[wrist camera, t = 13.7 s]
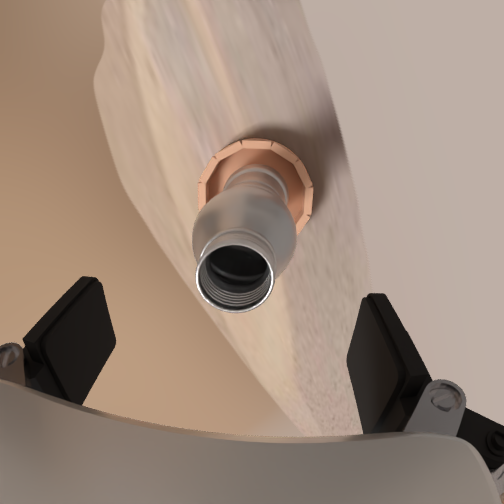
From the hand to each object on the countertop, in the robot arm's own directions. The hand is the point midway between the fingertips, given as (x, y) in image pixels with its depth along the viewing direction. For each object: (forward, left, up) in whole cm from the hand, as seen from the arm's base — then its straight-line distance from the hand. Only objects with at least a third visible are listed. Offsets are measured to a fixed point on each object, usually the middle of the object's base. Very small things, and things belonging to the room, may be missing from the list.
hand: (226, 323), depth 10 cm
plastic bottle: (0, 0, -24) cm, 24 cm away
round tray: (+1, 0, -25) cm, 25 cm away
